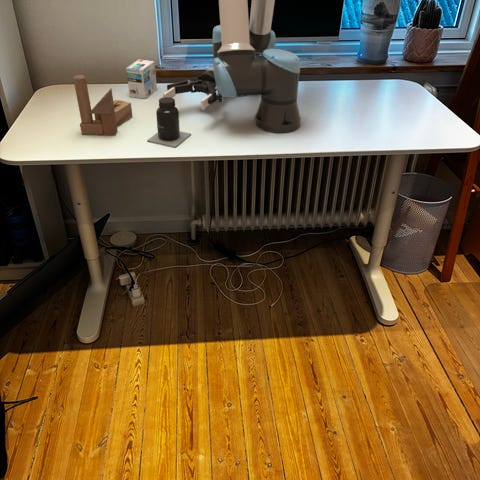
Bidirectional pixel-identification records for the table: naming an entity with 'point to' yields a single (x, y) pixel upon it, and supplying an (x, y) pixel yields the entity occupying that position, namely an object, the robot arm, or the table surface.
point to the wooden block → (95, 110)
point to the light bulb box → (141, 78)
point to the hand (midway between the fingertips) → (182, 101)
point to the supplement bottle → (167, 119)
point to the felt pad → (172, 143)
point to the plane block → (120, 112)
